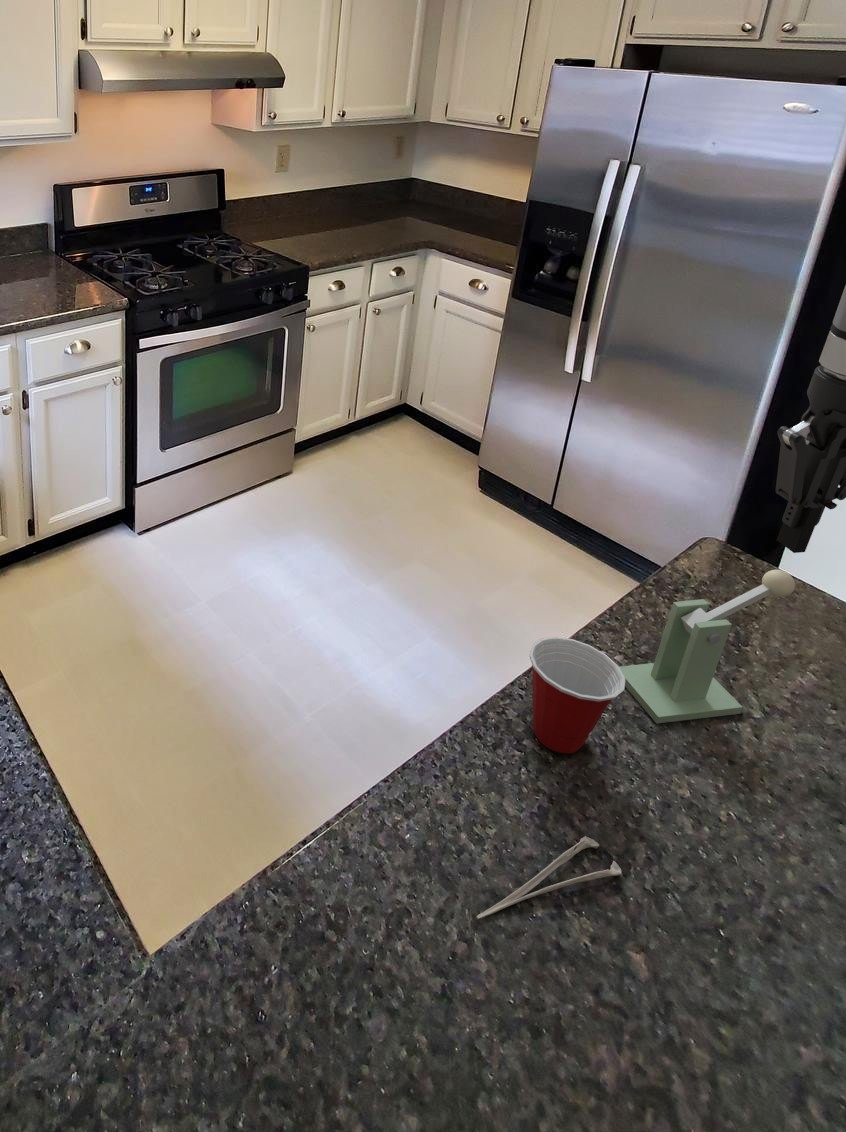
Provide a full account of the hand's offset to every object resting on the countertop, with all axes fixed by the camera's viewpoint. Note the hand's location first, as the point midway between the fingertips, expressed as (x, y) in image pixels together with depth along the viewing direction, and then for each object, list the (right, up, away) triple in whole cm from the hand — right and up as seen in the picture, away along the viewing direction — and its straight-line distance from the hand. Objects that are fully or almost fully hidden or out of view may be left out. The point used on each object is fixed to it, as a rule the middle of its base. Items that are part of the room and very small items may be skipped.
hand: (790, 545), depth 99 cm
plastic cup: (-28, -25, +3) cm, 37 cm away
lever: (-3, -9, +4) cm, 11 cm away
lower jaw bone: (-38, -34, -15) cm, 53 cm away
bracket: (-9, -22, +9) cm, 25 cm away
